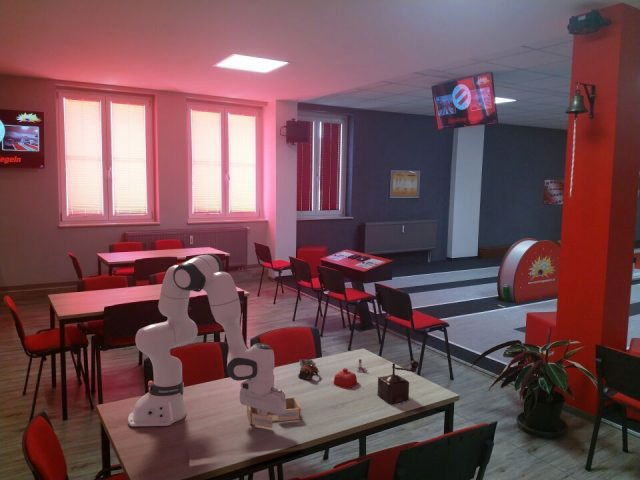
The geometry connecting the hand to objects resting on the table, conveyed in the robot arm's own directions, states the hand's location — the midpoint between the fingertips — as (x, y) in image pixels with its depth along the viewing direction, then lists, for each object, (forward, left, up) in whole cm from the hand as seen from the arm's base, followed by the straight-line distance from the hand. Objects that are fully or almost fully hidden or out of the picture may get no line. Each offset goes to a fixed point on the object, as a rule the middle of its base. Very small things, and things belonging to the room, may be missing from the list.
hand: (262, 419), depth 193 cm
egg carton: (+35, +58, -3) cm, 67 cm away
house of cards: (+59, +44, -3) cm, 74 cm away
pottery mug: (+28, +43, -4) cm, 51 cm away
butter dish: (+45, +32, -3) cm, 55 cm away
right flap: (+15, +2, -3) cm, 15 cm away
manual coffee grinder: (+62, +12, -3) cm, 64 cm away
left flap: (-4, +2, -3) cm, 5 cm away
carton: (+5, +7, -3) cm, 10 cm away
